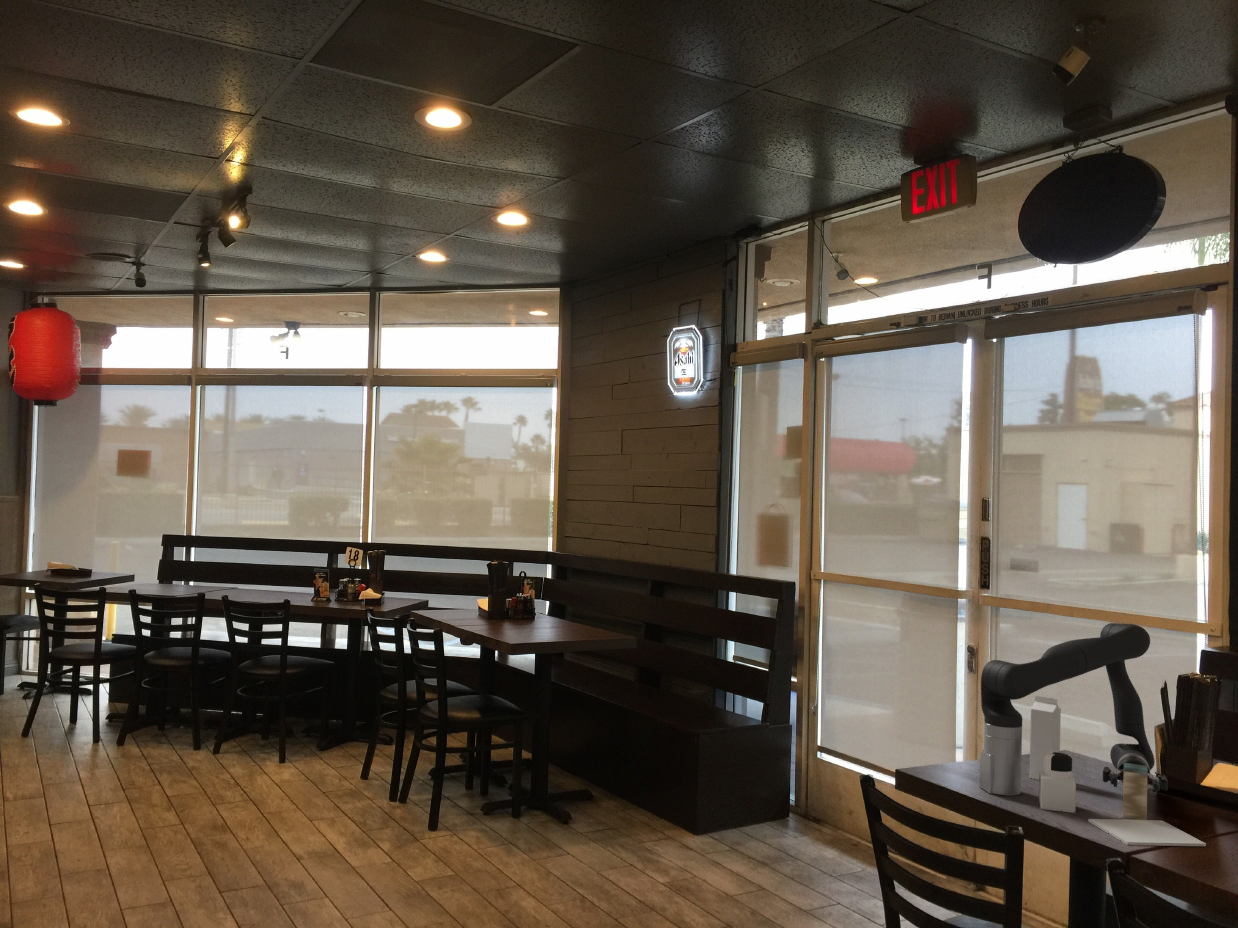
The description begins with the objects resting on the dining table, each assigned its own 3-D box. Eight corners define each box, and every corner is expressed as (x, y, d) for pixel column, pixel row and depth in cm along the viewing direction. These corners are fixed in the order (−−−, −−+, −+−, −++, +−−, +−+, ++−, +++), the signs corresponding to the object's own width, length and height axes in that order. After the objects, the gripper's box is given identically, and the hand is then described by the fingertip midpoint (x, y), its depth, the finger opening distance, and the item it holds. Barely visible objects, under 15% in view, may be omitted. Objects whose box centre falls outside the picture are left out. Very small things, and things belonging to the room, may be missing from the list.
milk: (1051, 782, 268) (1053, 700, 269) (1028, 778, 273) (1030, 696, 273) (1059, 778, 273) (1061, 697, 274) (1036, 773, 277) (1038, 694, 278)
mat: (1127, 844, 219) (1127, 841, 219) (1088, 821, 235) (1088, 818, 235) (1205, 846, 220) (1205, 843, 220) (1161, 822, 236) (1161, 820, 236)
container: (1072, 804, 248) (1073, 752, 249) (1075, 813, 241) (1076, 759, 242) (1038, 800, 251) (1039, 748, 252) (1040, 809, 244) (1042, 755, 244)
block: (1123, 817, 240) (1124, 766, 240) (1122, 811, 244) (1123, 762, 244) (1146, 821, 237) (1147, 770, 238) (1145, 815, 242) (1146, 765, 242)
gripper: (1103, 751, 260) (1102, 765, 246) (1165, 759, 254) (1168, 774, 239) (1102, 780, 260) (1102, 796, 245) (1164, 789, 254) (1168, 805, 239)
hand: (1135, 785), depth 242 cm, fingers open, 8 cm apart
